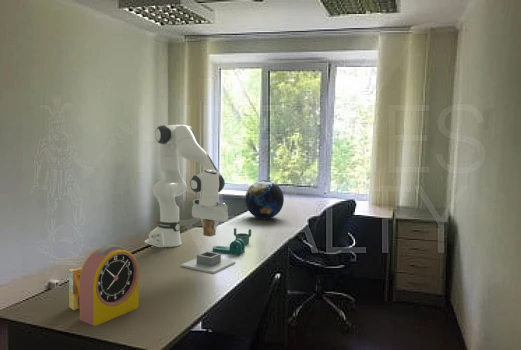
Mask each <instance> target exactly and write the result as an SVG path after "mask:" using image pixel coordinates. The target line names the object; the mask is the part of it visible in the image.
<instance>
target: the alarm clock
mask: <svg viewBox="0 0 521 350" xmlns="http://www.w3.org/2000/svg"><path fill="white" fill-rule="evenodd" d="M81 267H82V270H81V273H80V280H79V290H80V308H79V321H81V322H84V323H85V324H89V325H91V326H94V327H95V326H99V325H101V324H104V323H106V322H108V321H110V320H113V319H115V318H118V317H120V316H122V315H125V314H127V313H128V312H132V311H134V310H136V309H139V307H140V306H139V304H140V303H139V301H140V300H139V299H140V298H139V297H140V296H139V289H140V286H139V285H140V278H139V277H140V276H139V275H140V274H139V270H140V269H139V264H138V261H137V258H136V257H135V256H134V254H132V252H130V251H128V250H125V249H124V248H123V246H121V245H117V244H106V245H104V246H102V247H100V248H97V249H96V250H95V251H93V252H92V253H91V254H90V255H89V256H88V257H87V258H86V260H85V262H84V263H83V265H82V266H81Z"/></svg>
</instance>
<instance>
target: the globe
mask: <svg viewBox="0 0 521 350" xmlns="http://www.w3.org/2000/svg"><path fill="white" fill-rule="evenodd" d="M284 200H285V199H284V193H283V191H282V189H281V188H280V186H279V185H278V184H277V183H275V182H273V181H271V180H265V179H262V180H258V181H256V182H254V183H252V184H251V185H250V186H249V187H248V189H247V190H246V193H245V198H244V201H245V206H246V208H247V210H248V212H249V213H250V214H251V215H252V216H254V217H255V218H257V219H261V220H269V219H272V218H274V217H275V216H277V215H278V214H279V213H280V212H281V211H282V209H283V206H284V202H285V201H284Z"/></svg>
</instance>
